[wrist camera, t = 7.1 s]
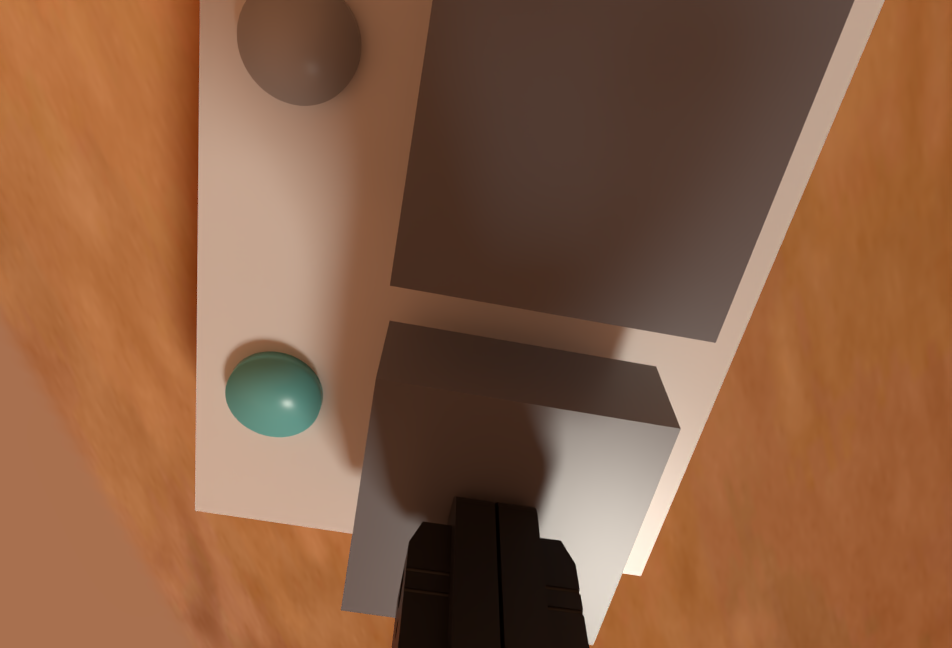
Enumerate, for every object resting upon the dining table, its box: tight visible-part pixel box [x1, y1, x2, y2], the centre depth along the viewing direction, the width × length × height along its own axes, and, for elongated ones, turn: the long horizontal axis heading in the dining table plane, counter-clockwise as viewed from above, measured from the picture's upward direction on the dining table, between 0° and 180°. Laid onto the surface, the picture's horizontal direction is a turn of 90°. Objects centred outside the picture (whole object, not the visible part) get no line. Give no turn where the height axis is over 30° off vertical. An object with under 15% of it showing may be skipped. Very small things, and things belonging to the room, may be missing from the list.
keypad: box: [195, 0, 885, 576], centre depth 14 cm, size 22×11×3 cm, turn 169°
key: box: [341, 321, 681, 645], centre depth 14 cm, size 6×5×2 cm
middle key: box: [390, 0, 854, 343], centre depth 11 cm, size 6×5×2 cm
